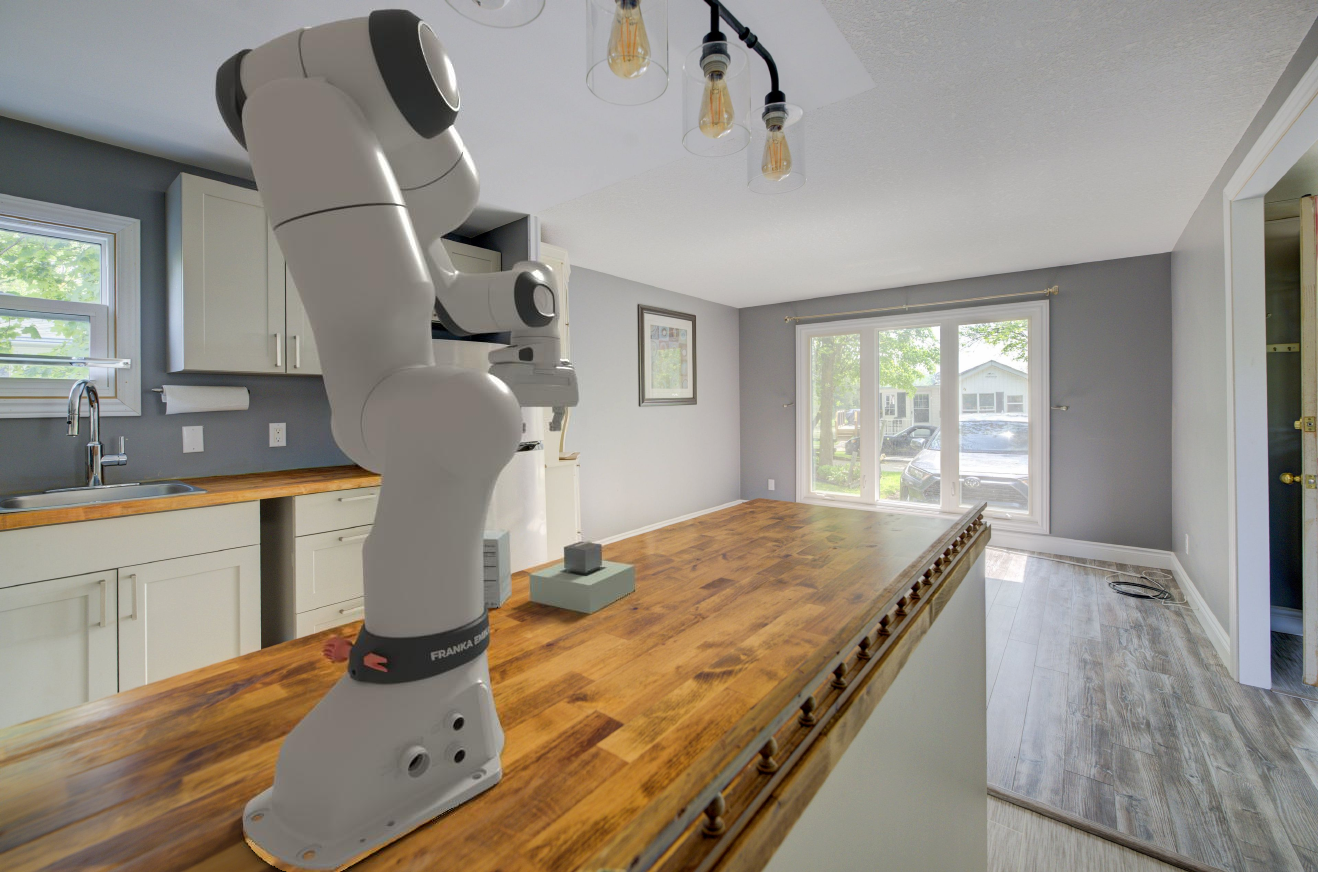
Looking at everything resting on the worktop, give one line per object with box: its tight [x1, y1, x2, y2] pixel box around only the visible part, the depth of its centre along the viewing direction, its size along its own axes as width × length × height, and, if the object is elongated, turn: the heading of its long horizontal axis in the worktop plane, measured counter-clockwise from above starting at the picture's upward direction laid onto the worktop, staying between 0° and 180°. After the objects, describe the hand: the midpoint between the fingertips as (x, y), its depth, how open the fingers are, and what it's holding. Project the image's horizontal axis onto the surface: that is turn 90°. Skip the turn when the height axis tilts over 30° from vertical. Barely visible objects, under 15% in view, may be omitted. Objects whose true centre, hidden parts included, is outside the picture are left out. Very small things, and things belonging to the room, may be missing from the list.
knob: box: [563, 540, 603, 576], centre depth 104 cm, size 5×5×8 cm
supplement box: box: [483, 529, 512, 609], centre depth 102 cm, size 7×7×13 cm
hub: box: [528, 559, 636, 615], centre depth 104 cm, size 14×14×5 cm
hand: (538, 432), depth 100 cm, fingers open, 8 cm apart
